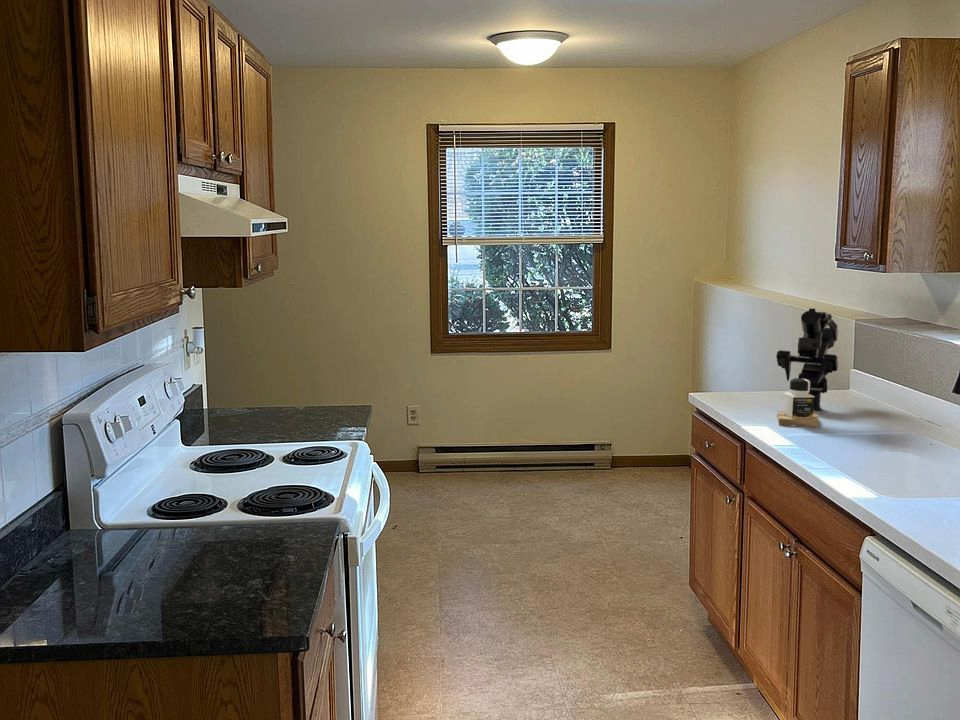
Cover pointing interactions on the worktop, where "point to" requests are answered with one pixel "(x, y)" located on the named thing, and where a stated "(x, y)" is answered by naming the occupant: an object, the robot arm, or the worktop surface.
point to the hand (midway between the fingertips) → (802, 381)
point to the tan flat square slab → (797, 420)
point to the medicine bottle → (799, 399)
